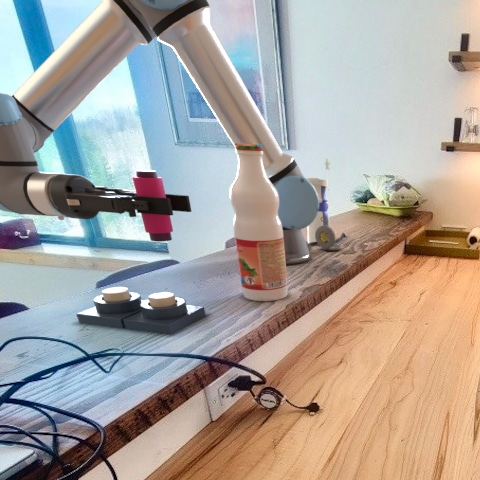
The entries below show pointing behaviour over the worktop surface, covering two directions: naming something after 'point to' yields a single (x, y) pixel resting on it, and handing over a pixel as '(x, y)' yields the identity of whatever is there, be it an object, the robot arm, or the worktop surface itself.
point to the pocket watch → (326, 237)
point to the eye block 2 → (164, 317)
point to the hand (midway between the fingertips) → (179, 205)
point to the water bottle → (323, 206)
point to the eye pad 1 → (115, 294)
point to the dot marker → (153, 187)
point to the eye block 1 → (111, 311)
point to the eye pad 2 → (162, 299)
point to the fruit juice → (257, 228)
